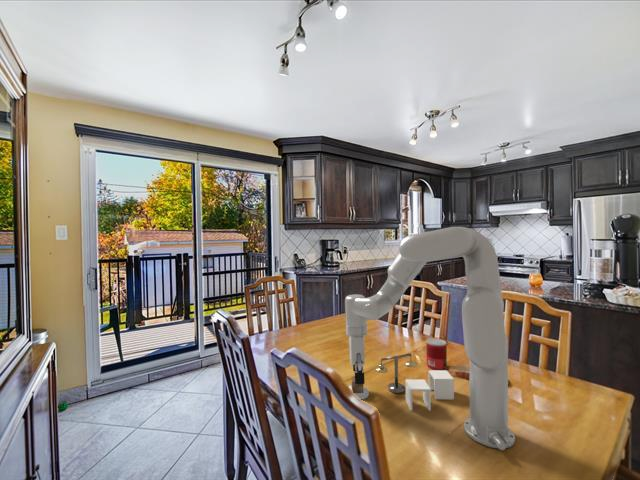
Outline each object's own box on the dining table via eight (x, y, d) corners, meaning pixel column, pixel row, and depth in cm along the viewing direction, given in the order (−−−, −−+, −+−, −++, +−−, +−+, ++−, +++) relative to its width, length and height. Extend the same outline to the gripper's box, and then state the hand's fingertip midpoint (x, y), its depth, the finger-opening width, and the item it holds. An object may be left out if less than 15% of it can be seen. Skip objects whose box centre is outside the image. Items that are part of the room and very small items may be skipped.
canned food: (448, 371, 123) (448, 345, 123) (428, 370, 125) (427, 344, 125) (444, 363, 131) (444, 338, 131) (425, 362, 132) (425, 337, 132)
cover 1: (430, 411, 96) (430, 389, 96) (410, 410, 97) (410, 389, 96) (424, 399, 103) (424, 379, 103) (405, 399, 103) (405, 379, 103)
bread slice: (442, 371, 124) (442, 362, 124) (476, 365, 130) (476, 356, 129) (477, 393, 107) (477, 383, 107) (515, 384, 112) (515, 375, 112)
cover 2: (434, 399, 103) (434, 378, 103) (428, 389, 110) (428, 370, 109) (454, 399, 103) (453, 379, 103) (446, 389, 109) (446, 370, 109)
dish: (370, 400, 103) (370, 397, 103) (344, 400, 103) (344, 396, 103) (367, 387, 112) (367, 383, 112) (343, 386, 112) (343, 383, 112)
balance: (419, 393, 107) (419, 356, 106) (376, 393, 107) (376, 356, 107) (415, 385, 113) (414, 350, 112) (374, 385, 113) (374, 350, 113)
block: (352, 392, 106) (352, 381, 106) (351, 387, 110) (351, 376, 110) (363, 393, 106) (363, 381, 105) (362, 387, 110) (362, 376, 109)
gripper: (345, 323, 116) (347, 367, 116) (347, 337, 99) (349, 389, 99) (364, 322, 116) (366, 366, 116) (370, 337, 98) (372, 388, 98)
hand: (358, 377), depth 107 cm, fingers open, 9 cm apart
